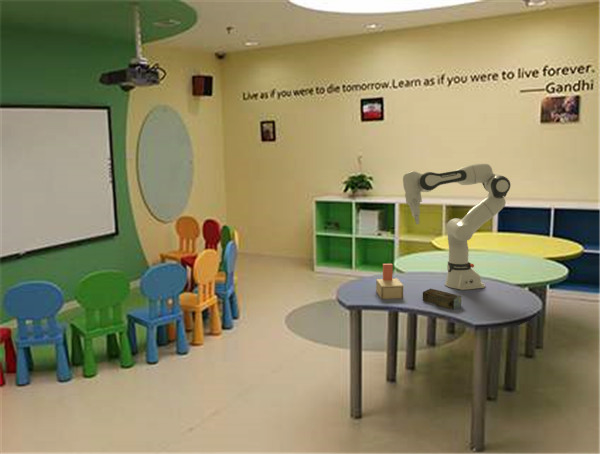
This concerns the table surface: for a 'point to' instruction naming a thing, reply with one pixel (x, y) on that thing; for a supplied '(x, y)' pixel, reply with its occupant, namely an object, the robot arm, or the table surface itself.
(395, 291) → the mailer box
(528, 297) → the table surface
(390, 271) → the lid
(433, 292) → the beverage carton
